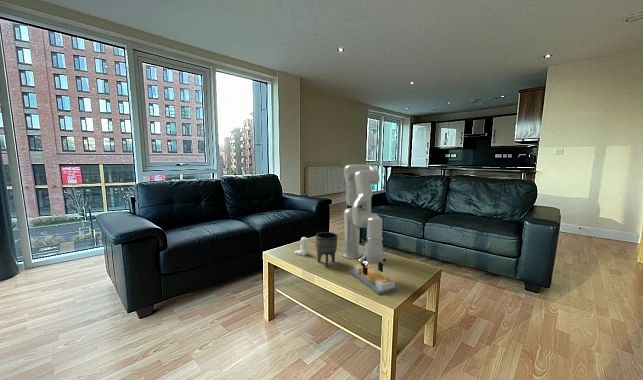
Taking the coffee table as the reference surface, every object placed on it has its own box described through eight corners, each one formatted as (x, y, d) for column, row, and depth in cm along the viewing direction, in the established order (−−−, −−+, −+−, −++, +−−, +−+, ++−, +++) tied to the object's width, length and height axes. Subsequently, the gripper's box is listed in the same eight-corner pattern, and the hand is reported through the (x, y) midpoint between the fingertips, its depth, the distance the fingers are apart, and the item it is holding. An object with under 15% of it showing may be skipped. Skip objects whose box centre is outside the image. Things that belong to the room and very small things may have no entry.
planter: (311, 265, 153) (311, 236, 151) (321, 257, 165) (322, 230, 163) (331, 269, 147) (331, 239, 145) (340, 261, 159) (340, 233, 157)
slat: (356, 271, 143) (357, 265, 142) (362, 269, 144) (363, 263, 144) (382, 289, 123) (382, 282, 122) (389, 287, 125) (389, 280, 124)
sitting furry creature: (305, 250, 177) (305, 233, 176) (313, 254, 171) (313, 236, 170) (293, 254, 171) (293, 236, 170) (301, 257, 165) (301, 239, 163)
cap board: (350, 273, 143) (350, 265, 142) (367, 269, 148) (368, 262, 148) (378, 294, 121) (378, 285, 120) (398, 289, 126) (398, 280, 125)
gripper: (382, 236, 139) (381, 267, 141) (355, 240, 131) (354, 272, 133) (392, 240, 132) (390, 272, 134) (364, 245, 125) (363, 278, 127)
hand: (372, 272), depth 134 cm, fingers open, 9 cm apart
